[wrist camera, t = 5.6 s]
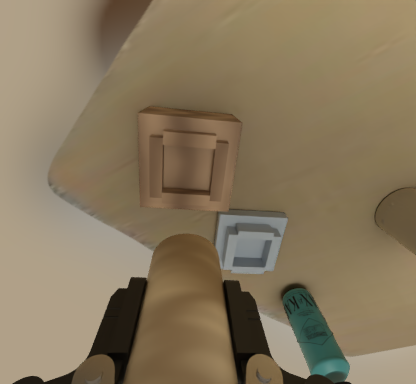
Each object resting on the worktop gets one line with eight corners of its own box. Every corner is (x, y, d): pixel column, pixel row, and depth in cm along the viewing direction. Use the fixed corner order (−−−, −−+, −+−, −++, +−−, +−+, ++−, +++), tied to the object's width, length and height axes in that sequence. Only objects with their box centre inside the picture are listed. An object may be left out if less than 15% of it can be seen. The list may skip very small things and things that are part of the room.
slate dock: (284, 212, 42) (293, 226, 38) (270, 263, 47) (277, 280, 43) (218, 208, 41) (221, 222, 37) (211, 261, 46) (213, 278, 42)
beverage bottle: (312, 294, 52) (376, 406, 34) (285, 307, 53) (334, 422, 35) (300, 276, 49) (363, 388, 31) (273, 290, 51) (318, 405, 33)
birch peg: (223, 235, 13) (259, 416, 6) (215, 286, 15) (236, 476, 8) (152, 231, 13) (101, 421, 6) (152, 285, 15) (112, 483, 7)
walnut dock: (231, 114, 34) (245, 124, 26) (221, 188, 39) (230, 217, 31) (149, 106, 33) (134, 114, 25) (149, 183, 38) (137, 212, 30)
